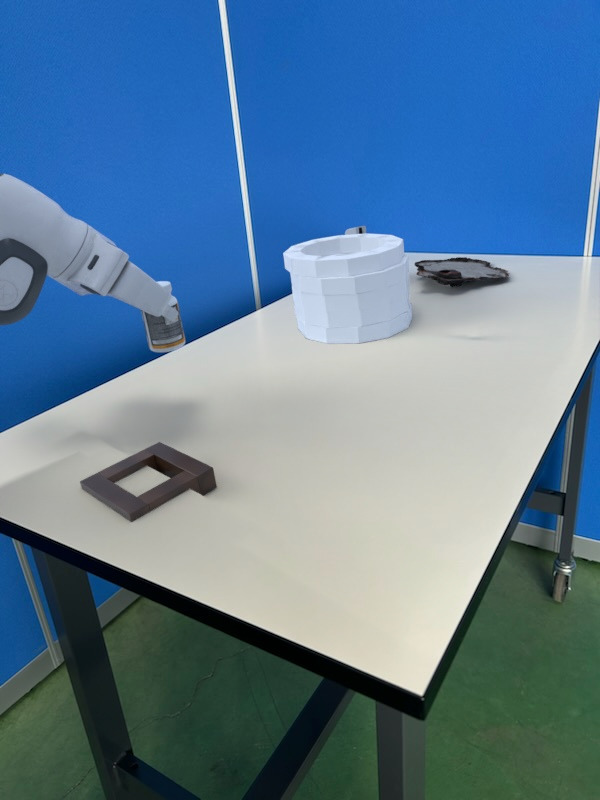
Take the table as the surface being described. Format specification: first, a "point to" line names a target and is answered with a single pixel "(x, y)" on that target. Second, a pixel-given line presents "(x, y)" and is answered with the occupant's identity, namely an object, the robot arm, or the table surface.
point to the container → (350, 287)
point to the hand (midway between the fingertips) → (165, 312)
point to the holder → (167, 462)
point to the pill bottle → (164, 327)
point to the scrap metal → (459, 270)
